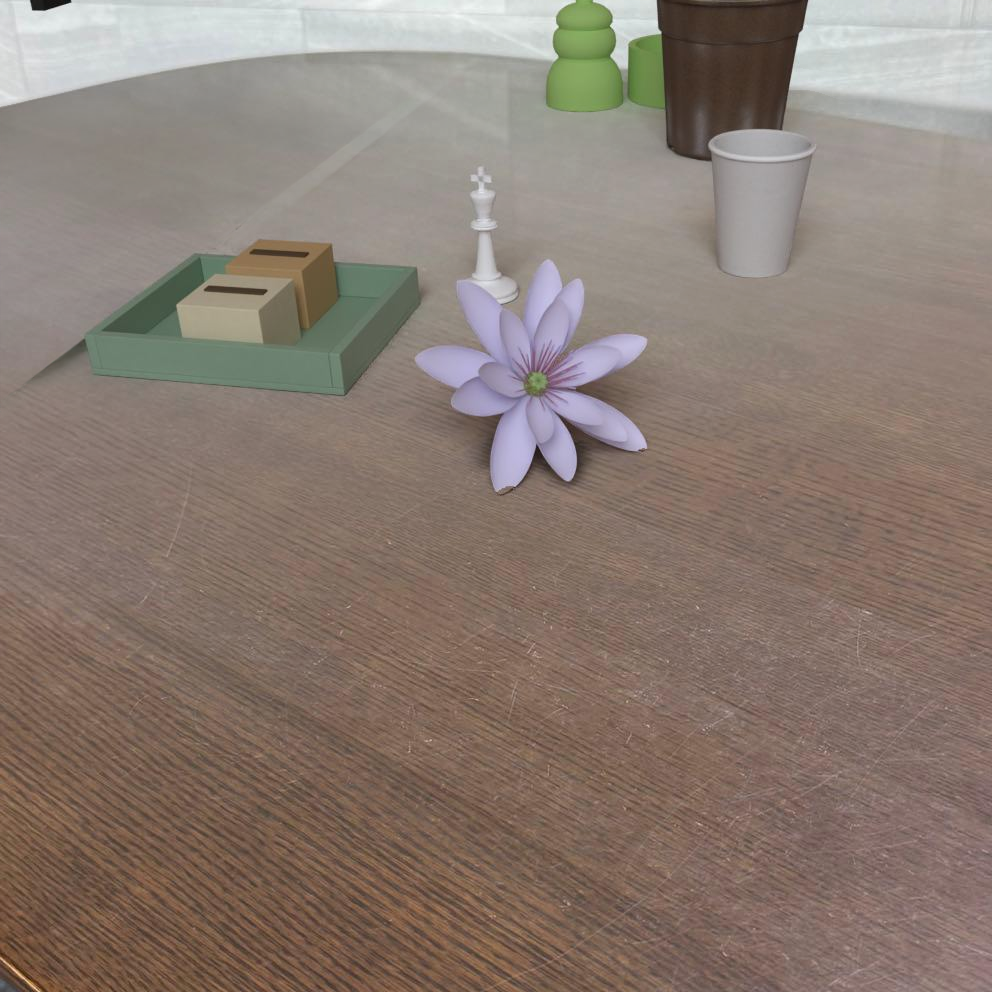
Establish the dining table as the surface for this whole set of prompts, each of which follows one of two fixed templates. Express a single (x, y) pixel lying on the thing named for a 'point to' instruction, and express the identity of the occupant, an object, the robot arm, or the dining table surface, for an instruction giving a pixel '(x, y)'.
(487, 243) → the chess piece
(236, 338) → the beige slotted box
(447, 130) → the dining table surface
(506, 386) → the water lily
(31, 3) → the robot arm
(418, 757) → the dining table surface
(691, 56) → the plant pot
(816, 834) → the dining table surface
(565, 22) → the green stacking toy
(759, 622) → the dining table surface
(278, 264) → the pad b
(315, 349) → the tray
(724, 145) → the dixie cup
